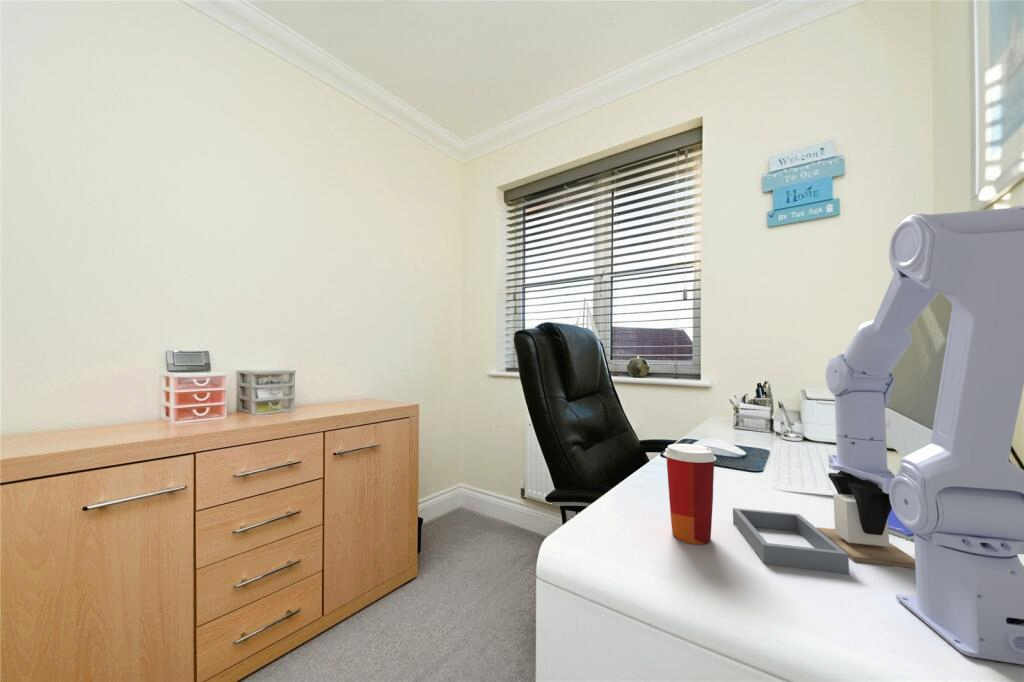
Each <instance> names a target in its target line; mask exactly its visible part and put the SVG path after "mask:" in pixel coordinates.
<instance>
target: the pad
mask: <svg viewBox="0 0 1024 682" xmlns="http://www.w3.org/2000/svg"><path fill="white" fill-rule="evenodd" d="M816 528H817V529H818V530H819V531H820V532H822V533H823V534H824V535H825V536H827V537H828V538H829V539H830V540H831V541H833V542H834V543H835V544H836V545H838V546H839V547H840V548H841V549H842V550H844V551H845V552H846V553H847V554H848V557H849V559H850V560H851V561H853V562H858V563H865V564H866V563H867V564H875V565H882V566H883V565H885V566H893V567H901V568H909V569H910V568H911V569H916V567H915V557H913V556H910V555H909V554H908V553H906V552H905V551H904V550H902V549H900V548H899V547H897V546H896V545H894V544H893V543H891V542H889V546H878V545H868V544H857V543H848V542H847V541H846V540H844V539H843V538H842V537H840V536H839V535H838V534H837V533H835V528H828V527H827V528H825V527H818V526H817V527H816Z"/></svg>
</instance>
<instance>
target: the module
mask: <svg viewBox="0 0 1024 682" xmlns="http://www.w3.org/2000/svg"><path fill="white" fill-rule="evenodd" d="M832 496H833V512H834V513H833V514H834V516H833V517H834V529H835V533H837V534H838V535H839V536H840V537H842V538H843V539H844V540H846V541H847V542H848V543H857V544H868V545H878V546H889V543H890V538H889V537H890V534H889V532H888V519H887V522H886V526H885V529H884V532H883V535H874V534H866V533H864V532H863V529H862V526H861V522H860V518H859V511H858V507H857V503H856V500H855V497H854V495H846V494H838V493H833V495H832Z"/></svg>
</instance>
